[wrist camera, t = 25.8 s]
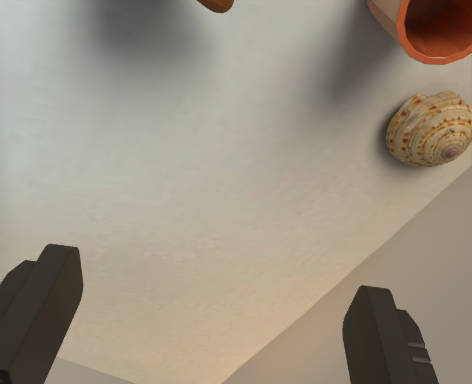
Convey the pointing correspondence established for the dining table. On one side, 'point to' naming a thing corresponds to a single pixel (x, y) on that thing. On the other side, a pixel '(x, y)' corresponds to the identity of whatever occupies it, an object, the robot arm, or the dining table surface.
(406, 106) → the seashell
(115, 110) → the dining table surface
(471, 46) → the cup
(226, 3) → the mug
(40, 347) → the robot arm
